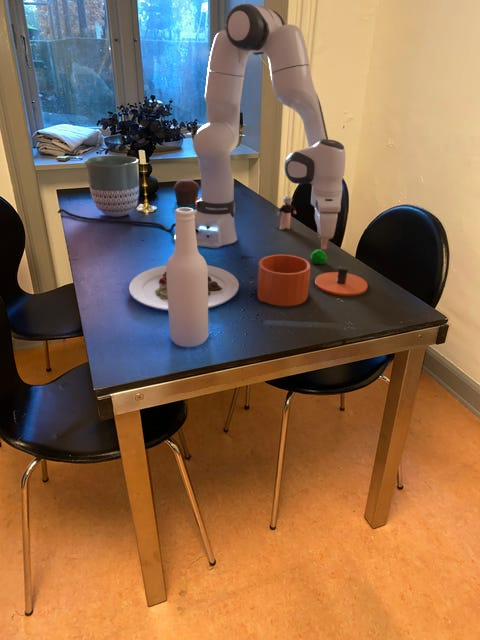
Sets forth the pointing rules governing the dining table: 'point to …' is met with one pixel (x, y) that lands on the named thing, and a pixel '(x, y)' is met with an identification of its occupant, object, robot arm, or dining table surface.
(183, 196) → the muffin
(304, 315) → the dining table surface
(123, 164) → the planter
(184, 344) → the alcohol
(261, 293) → the pot
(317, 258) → the polyhedron
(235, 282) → the plated food
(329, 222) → the robot arm
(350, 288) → the lid
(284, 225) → the grandmother figurine
